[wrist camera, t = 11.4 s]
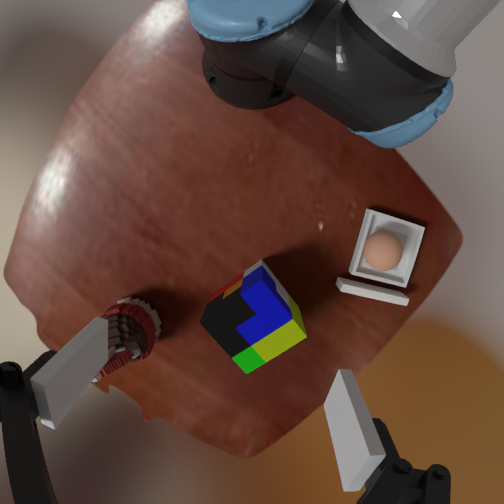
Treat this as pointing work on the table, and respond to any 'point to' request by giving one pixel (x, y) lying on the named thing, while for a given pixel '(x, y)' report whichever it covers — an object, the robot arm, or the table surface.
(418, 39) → the robot arm
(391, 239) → the ball
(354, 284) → the low wall
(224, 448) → the table surface
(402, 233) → the light gray square tray
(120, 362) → the cake
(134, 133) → the table surface
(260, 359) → the puzzle toy
